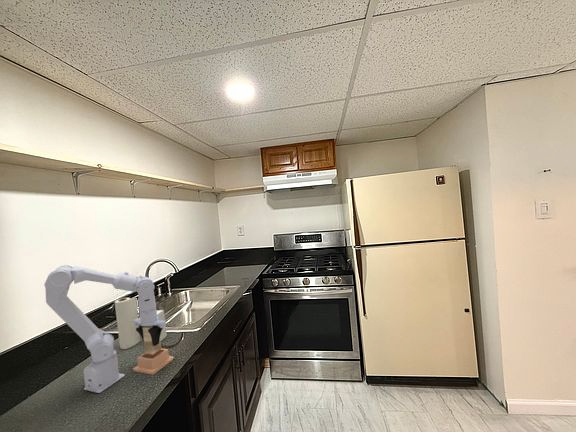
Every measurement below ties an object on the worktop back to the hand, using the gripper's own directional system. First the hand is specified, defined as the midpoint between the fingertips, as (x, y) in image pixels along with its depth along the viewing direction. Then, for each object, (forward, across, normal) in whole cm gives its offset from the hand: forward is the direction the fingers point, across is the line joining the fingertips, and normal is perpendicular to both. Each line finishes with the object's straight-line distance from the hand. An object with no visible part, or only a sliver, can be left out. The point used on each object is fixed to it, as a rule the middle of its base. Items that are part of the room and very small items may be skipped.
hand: (151, 344), depth 102 cm
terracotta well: (+8, 0, 0) cm, 8 cm away
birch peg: (+3, 0, 0) cm, 3 cm away
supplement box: (+8, +17, -16) cm, 25 cm away
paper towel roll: (+8, +25, -9) cm, 28 cm away
